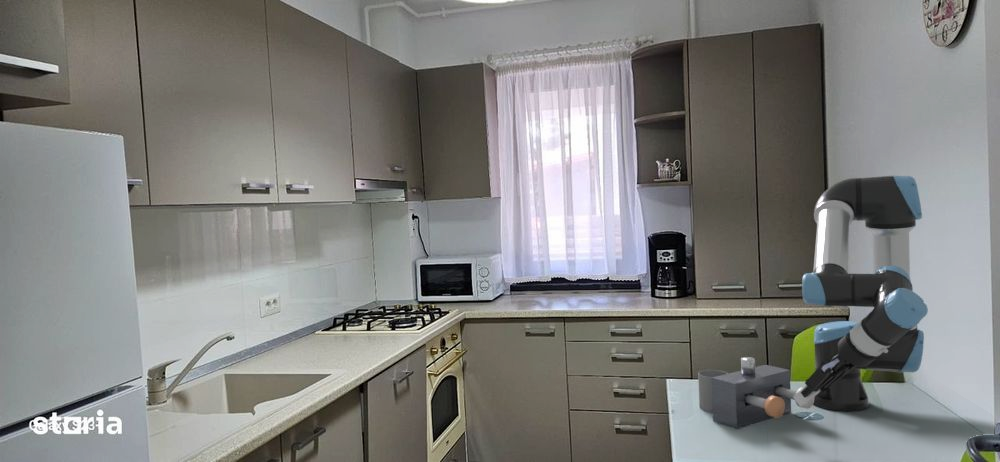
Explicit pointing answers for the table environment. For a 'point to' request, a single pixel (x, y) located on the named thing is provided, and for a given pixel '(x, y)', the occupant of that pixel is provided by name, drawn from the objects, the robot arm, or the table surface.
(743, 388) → the grey puzzle box
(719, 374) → the cup
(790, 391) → the knob
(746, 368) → the dial
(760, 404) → the knob
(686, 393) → the table surface
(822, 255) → the robot arm
